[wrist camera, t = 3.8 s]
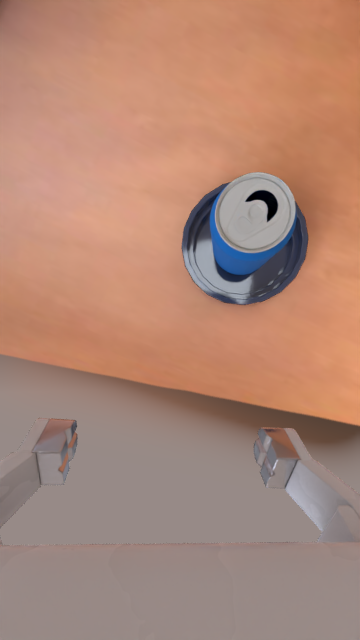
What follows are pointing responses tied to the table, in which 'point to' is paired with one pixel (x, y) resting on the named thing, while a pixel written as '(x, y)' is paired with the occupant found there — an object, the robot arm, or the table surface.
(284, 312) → the table surface
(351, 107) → the table surface
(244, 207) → the beverage can
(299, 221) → the bowl
